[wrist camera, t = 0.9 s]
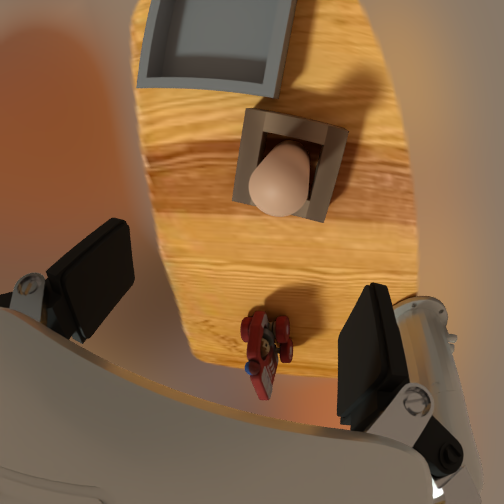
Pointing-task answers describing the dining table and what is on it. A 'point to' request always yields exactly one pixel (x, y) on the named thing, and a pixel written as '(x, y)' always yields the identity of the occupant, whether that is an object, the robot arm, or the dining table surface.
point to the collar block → (300, 128)
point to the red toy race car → (265, 349)
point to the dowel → (281, 179)
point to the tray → (217, 45)
